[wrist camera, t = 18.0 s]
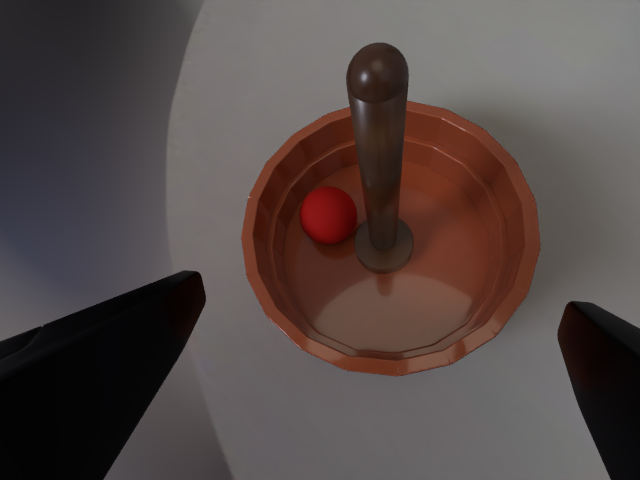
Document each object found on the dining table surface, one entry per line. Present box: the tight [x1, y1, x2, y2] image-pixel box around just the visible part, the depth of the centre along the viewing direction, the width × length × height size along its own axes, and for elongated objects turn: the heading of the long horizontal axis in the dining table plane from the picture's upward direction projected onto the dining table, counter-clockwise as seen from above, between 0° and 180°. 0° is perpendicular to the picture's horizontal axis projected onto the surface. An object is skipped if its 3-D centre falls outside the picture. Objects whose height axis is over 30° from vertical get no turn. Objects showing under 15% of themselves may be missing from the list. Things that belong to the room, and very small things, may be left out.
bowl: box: [241, 101, 541, 376], centre depth 18 cm, size 13×13×5 cm
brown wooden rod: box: [346, 43, 414, 274], centre depth 13 cm, size 3×3×13 cm
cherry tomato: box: [299, 187, 357, 244], centre depth 19 cm, size 3×3×3 cm
